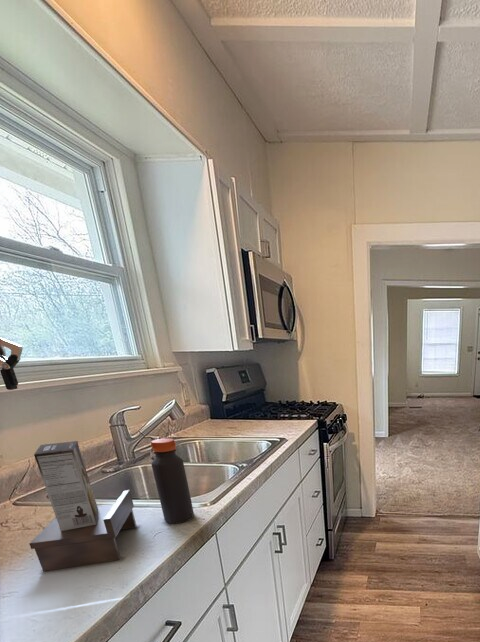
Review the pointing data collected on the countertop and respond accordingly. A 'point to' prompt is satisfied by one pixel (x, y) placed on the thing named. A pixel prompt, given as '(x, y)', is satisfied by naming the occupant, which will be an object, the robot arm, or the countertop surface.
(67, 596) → the countertop surface
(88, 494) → the coffee box
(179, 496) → the bottle
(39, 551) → the shelf
